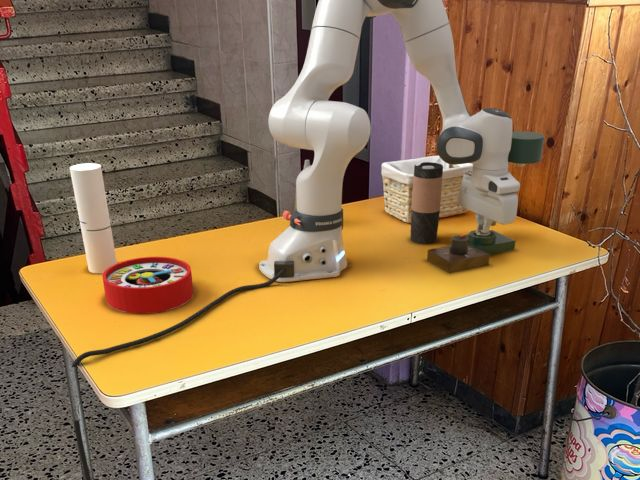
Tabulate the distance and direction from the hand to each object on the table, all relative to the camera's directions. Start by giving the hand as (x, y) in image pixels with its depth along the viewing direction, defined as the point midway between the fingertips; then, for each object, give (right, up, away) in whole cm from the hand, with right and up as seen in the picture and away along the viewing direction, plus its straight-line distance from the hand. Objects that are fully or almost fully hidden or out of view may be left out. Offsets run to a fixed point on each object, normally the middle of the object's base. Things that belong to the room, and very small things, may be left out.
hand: (482, 231), depth 193 cm
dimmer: (-8, -9, -5) cm, 13 cm away
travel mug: (-14, 0, +10) cm, 17 cm away
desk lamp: (+9, +5, +9) cm, 13 cm away
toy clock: (-83, -21, -22) cm, 88 cm away
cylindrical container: (-98, -11, -6) cm, 99 cm away
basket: (-11, +14, +31) cm, 36 cm away
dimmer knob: (-8, -7, -7) cm, 12 cm away
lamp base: (+1, -3, +4) cm, 5 cm away
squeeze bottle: (-46, +8, +23) cm, 52 cm away
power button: (0, -2, +1) cm, 2 cm away
